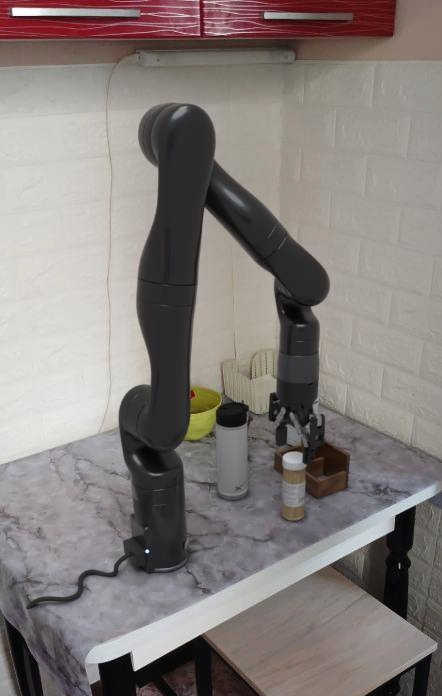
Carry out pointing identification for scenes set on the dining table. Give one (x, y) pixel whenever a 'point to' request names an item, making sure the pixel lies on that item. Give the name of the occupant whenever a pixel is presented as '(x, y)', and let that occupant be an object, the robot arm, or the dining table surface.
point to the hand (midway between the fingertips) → (294, 453)
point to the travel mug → (232, 450)
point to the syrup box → (292, 434)
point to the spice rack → (321, 468)
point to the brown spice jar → (293, 486)
